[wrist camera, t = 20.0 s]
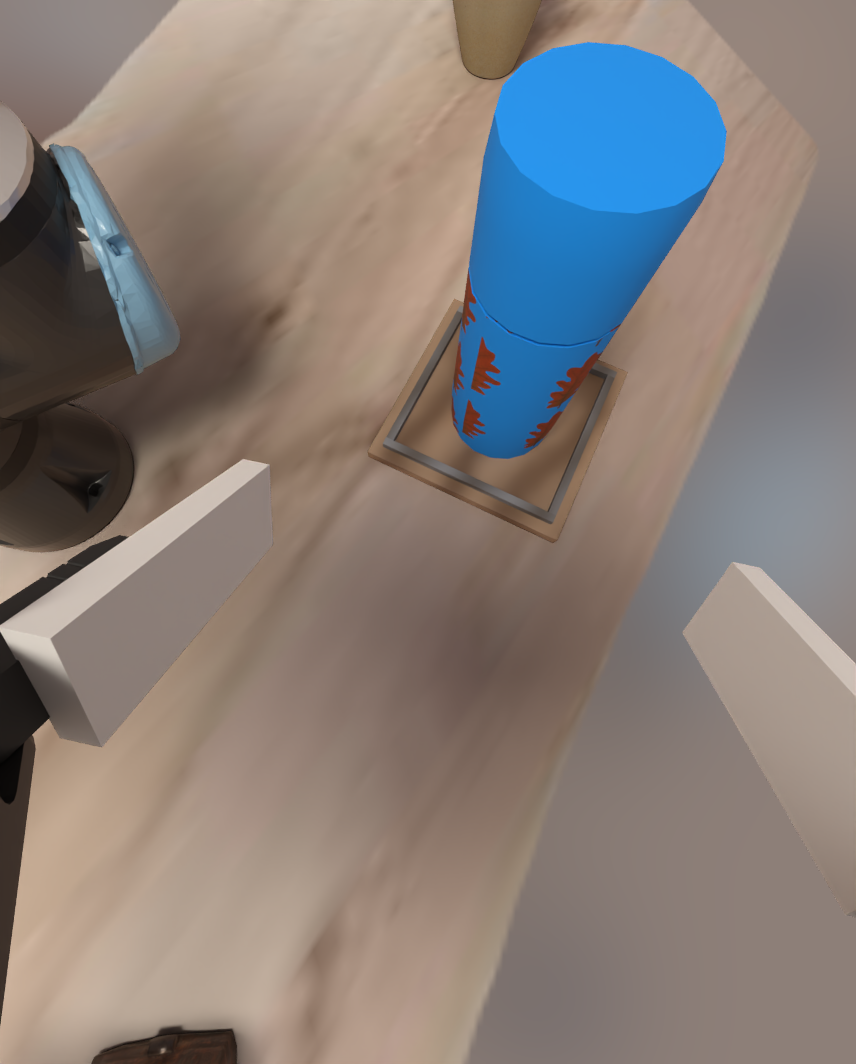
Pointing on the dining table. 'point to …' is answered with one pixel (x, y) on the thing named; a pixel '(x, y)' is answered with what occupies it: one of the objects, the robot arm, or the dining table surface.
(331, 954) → the dining table surface
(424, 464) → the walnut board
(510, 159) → the thermos
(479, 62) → the plant pot
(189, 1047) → the manual coffee grinder
